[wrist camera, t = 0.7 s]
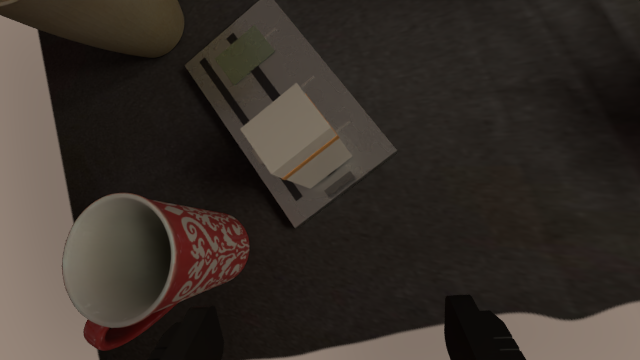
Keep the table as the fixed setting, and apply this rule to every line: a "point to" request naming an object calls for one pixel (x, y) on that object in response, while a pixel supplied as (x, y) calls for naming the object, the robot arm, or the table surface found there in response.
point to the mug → (145, 262)
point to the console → (270, 83)
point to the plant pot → (105, 22)
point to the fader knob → (296, 139)
